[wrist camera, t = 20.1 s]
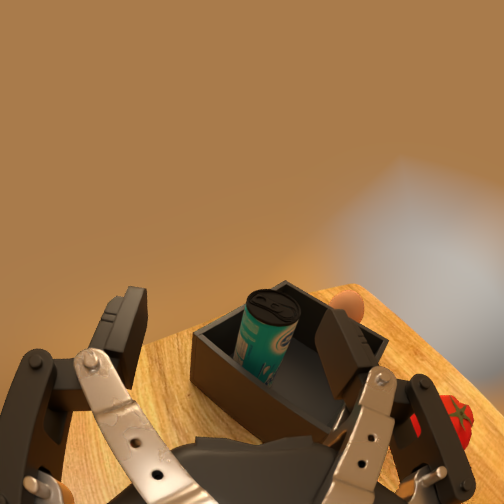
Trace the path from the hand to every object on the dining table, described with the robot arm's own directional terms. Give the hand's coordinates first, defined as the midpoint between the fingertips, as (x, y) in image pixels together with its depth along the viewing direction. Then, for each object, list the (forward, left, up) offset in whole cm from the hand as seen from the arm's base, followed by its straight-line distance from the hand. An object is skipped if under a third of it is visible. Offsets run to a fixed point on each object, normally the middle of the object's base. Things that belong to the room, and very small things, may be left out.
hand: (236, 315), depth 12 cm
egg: (-2, +38, -26) cm, 46 cm away
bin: (-2, +18, -26) cm, 32 cm away
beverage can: (-5, +14, -25) cm, 29 cm away
